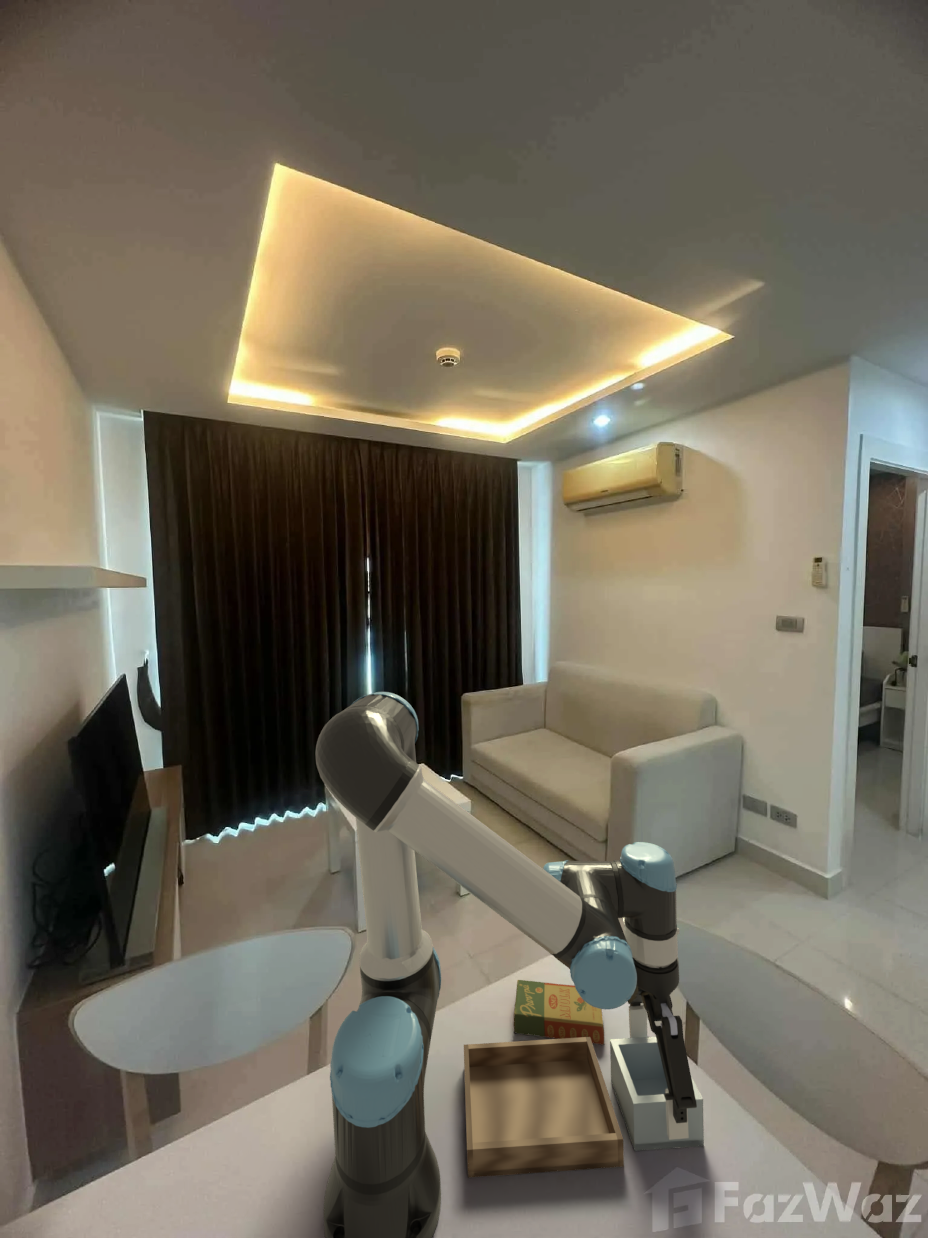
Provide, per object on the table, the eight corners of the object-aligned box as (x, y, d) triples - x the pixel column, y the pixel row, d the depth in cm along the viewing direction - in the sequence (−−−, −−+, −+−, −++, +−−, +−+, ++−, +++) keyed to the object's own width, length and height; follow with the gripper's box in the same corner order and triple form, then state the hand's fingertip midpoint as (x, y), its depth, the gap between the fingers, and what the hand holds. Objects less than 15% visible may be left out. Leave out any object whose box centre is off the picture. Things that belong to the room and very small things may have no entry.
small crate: (634, 1151, 68) (633, 1103, 68) (611, 1081, 78) (610, 1039, 78) (703, 1146, 69) (703, 1099, 68) (671, 1077, 79) (670, 1035, 78)
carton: (604, 1047, 85) (604, 1024, 84) (513, 1035, 88) (512, 1013, 87) (600, 1007, 93) (599, 986, 93) (516, 998, 96) (516, 977, 96)
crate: (468, 1178, 66) (466, 1150, 66) (464, 1067, 82) (463, 1044, 81) (623, 1167, 67) (623, 1139, 66) (590, 1059, 82) (590, 1037, 82)
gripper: (722, 1021, 60) (728, 1183, 61) (642, 898, 85) (647, 1014, 86) (663, 1026, 60) (669, 1188, 61) (600, 901, 85) (605, 1018, 86)
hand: (656, 1087), depth 73 cm, fingers open, 13 cm apart
